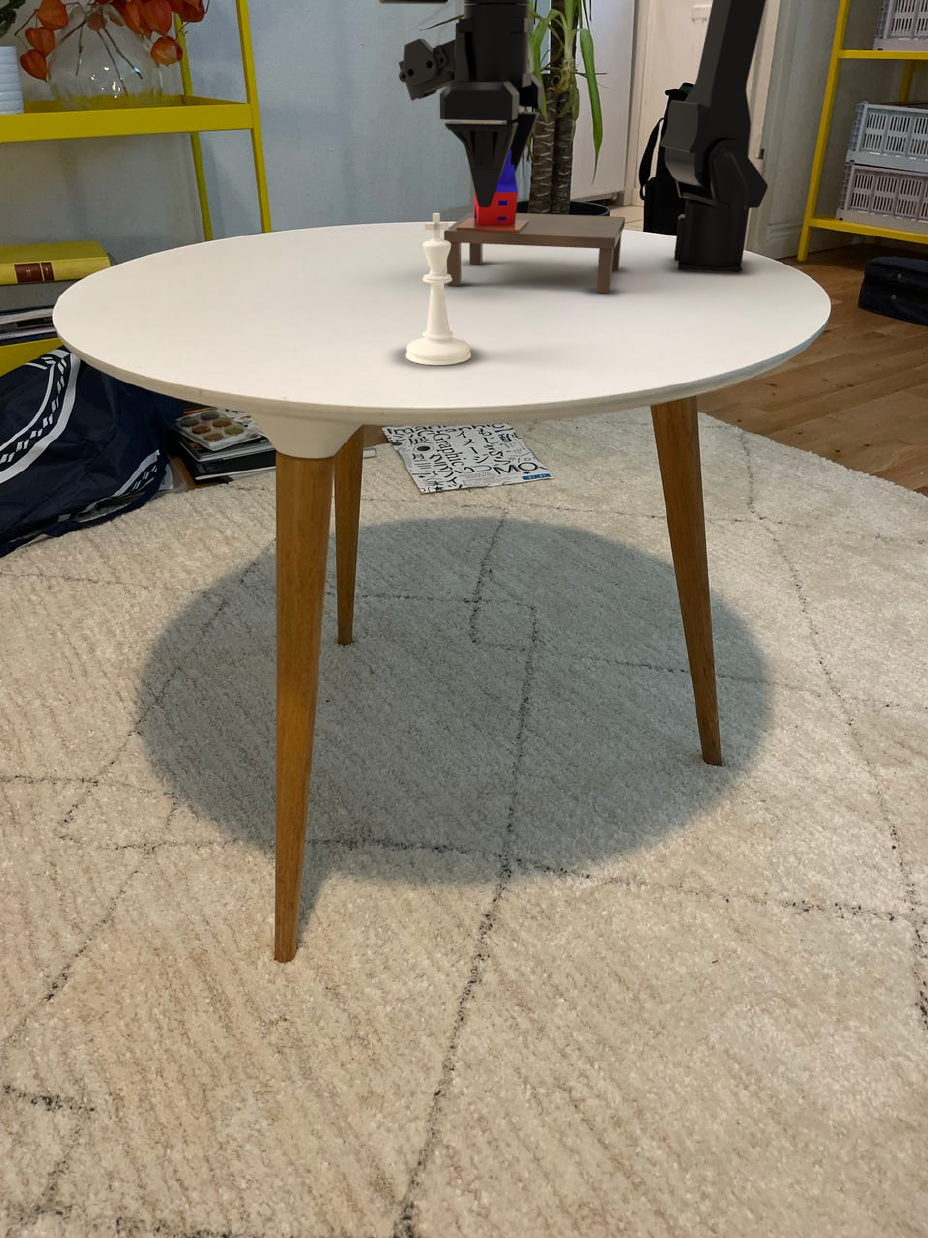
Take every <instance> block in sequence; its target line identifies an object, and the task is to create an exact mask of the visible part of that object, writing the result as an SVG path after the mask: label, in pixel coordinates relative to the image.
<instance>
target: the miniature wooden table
mask: <svg viewBox="0 0 928 1238" xmlns="http://www.w3.org/2000/svg"><path fill="white" fill-rule="evenodd" d="M625 222H626V217H625V216H611V215H610V216H608V215H585V214H584V215H582V214H554V213H553V214H551V213H525V212H521V213H520V212H516V220H515V225H478V223H477V219H474V211H470V212H468V213H466V214H465V215H464V216H462V217H461V218H459V220H457V221H455V222H454V223H453V224H452V225H450V226H449V230H443V240H447V241H449V242H450V243H451V248H450V252H449V254H448V257H447V262H446V274H449V275H451V278H452V281H450V282H448V283H446V286H447V287H460V285H462V244H469V245H468V247H469V248H468V249H469V252H468V253H469V255H468V257H469V260H468V261H469V262H468V263H469V265H474V266H475V265H477V266H480V265H482V264H483V262H484V261H483V259H484V257H483V255H484V253H483V252H484V251H483V250H484V245H500V246H501V245H502V246H503V245H504V246H529V247H550V248H551V247H553V248H573V249H574V248H575V249H576V248H577V249H579V248H580V249H599V250H598V263H597V275H596V278H597V279H596V294H604V295H605V294H608V295H609V294H610V292H611V286H612V285H611V283H612V272H618V271H619V270H620V259H621V246H622V245H621V244H622V234H623V231H624V228H625V224H626V223H625Z"/></svg>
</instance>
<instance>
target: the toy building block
mask: <svg viewBox="0 0 928 1238" xmlns="http://www.w3.org/2000/svg"><path fill="white" fill-rule="evenodd" d="M510 163H511V149H510V150H509V153H508V156H507V159H506V162H505V165H504V168H503V171H502V174H501V177H500V180H499V183H498V186H497V189H496V192H495V195H494V198H493V201H492V204H491V206H490V207H479V206H478V203H477V198H476V194H475V193H474V203H473V212H474V219H477V223H478V225H515V220H516V213H517V207H518V199H519V198H518V196H519V190H518V189H519V188H518V184H517V177H516V174H515V170H514V165H510Z"/></svg>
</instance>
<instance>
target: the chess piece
mask: <svg viewBox="0 0 928 1238" xmlns="http://www.w3.org/2000/svg"><path fill="white" fill-rule="evenodd" d="M440 217H441V214H440V212H433V213H432V222H424V223H423V226H424V231H432V232H433V233H432V234H433V237H432V238H430V239H427V240H425V241H424V242H423V243H422V249H423V252H424V255H425V256H426V262H427V265H428V267H429V270H430V271H428V272H429V273H426V274H424V275H423V276H422V277H423V278H422V282H423V283H427V284H430V291H429V292H430V293H429V305H428V317H427V324H426V330H425V331H423V332H422V336H423V337H419V338H417V339H414V340H412V341H410V342H409V343H408V344H407V345H406V347H405V348H406V353H405V358H406V359H407V360H408V361H410V362H412V363H416V364H421V365H427V366H447V365H448V366H449V365H456V364H460V363H463V362H466V361H467V360H469V359H470V358H471V357H472V353H471V351H470V350H471V346H470V344H469V343H468V342H467V341H465V340H463V339H460V338H457V337H454V334H455V333H454V332H453V331H451V330H450V324H449V320H448V319H449V318H448V311H447V302H446V294H445V284H447V283H448V282H450V281H452V278H451V275H449V274H447V272H446V271H445V268H446V266H447V257H448V254H449V252H450V248H451V243H450V242H449V241H447V240H444V238H443V237H442V238H441V231H445V230H449V227H450V223H449V222H441V218H440Z"/></svg>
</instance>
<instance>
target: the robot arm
mask: <svg viewBox="0 0 928 1238" xmlns="http://www.w3.org/2000/svg"><path fill="white" fill-rule="evenodd" d="M378 1H379V3H380V4H381V5H382V4H383V5H384V4H386V5H387V4H388V5H446V4H447V3H448V2H449V0H378ZM766 2H767V0H712V2H711V3H712V4H711V8H710V13H709V17H708V23H707V28H706V31H705V38H704V41H703V47H702V52H701V56H700V62H699V67H698V71H697V76H696V80H695V82H694V85H693V87H692V88H691V90H690V92H689V93H688V95H687V96H686V98H685V100H684V101H681V100H673V99H672V100H671V101H670V103H669V105H668V109H667V110H668V111H667V124H666V129H665V133H664V135H663V137H662V140H661V141H660V144H659V146H660V147H663V148H665V149H664V165H665V167H666V168H667V170H668V171H669V173H670V175H671V177H672V178H674V179H675V185H676V189H677V194H678V197H679V198H681V199H686V202H685V211H684V214H682V213H681V214H680V215H679V216H678V218H677V228H676V236H675V247H674V257H673V260H674V261H675V262H677V269H678V270H682V271H683V270H684V271H702V272H703V271H704V272H705V271H706V272H725V273H726V272H727V273H742V272H743V270H744V263H743V257H744V250H745V244H746V238H747V237H746V236H747V231H748V222H749V215H750V209H753V208H754V209H755V208H757V209H758V208H759V207H760V206H761V204H762V202H763V199H764V197H765V195H766V193H767V190H768V187H769V185H768V183H767V182H766V180H765V179H764V177H763V176H762V174H761V173H760V172H759V170H758V169H757V167H756V166H755V165H754V163H753V162H752V160H751V159H750V157H749V155H750V144H751V133H752V118H751V111H750V105H749V99H748V98H749V97H748V91H747V90H748V83H749V82H748V81H749V77H750V73H751V68H752V64H753V59H754V56H755V52H756V46H757V43H758V39H759V34H760V29H761V25H762V20H763V16H764V12H765V7H766V4H767V3H766ZM530 4H531V0H463V18H458V22H456V23H455V37H454V39H451V40H450V41H447V42H445V43H441V44H438V45H435V46H434V47H432V45H430V44H429V42H428V41H427V40H426V39H425V38H417V39H415V40H413V41H410V42H408V43H406V44H404V46H403V58H402V59H403V60H401V61H398V65H399V71H400V72H399V73H398V78H399V80H400V82H401V83H405V87H406V89H407V92H408V95H409V98H410V101H411V102H413V101H415V100H417V99H418V100H422V99H424V98H427V97H429V96H432V95H435V94H436V93H437V91H438V90H440V89H442V88H443V90H442V91H441V92H440V93H439V120H444V121H445V120H447V122H444V127H445V128H446V129H447V130H448V131H450V132H452V134H453V135H454V136H455V137H457V139H458V140H459V141H460V142H461V143H462V144H463V146H464V150H465V154H466V158H467V162H468V166H469V171H470V175H471V176H470V177H471V180H472V184H473V189H474V195H475V194H476V198H477V203H478V206H479V207H490V206H491V204H492V201H493V198H494V195H495V192H496V189H497V186H498V183H499V180H500V177H501V174H502V171H503V168H504V165H505V162H506V159H507V156H508V153H509V150H510V149H511V163H510V165H514V170H515V175H516V174H517V171H518V168H519V166H520V163H521V161H522V158H523V156H524V154H525V150H526V149H527V146H528V143H529V140H530V138H531V136H532V133H533V131H534V129H535V126H536V125H537V124H536V123H537V121H538V119H539V117H540V112H538V111H537V112H536V111H526V108H532V109H533V110H540V109H542V108H543V107H544V85H543V84H542V82H541V81H540V80H539V79H538V78H537V76H536V75H535V74H532V72H531V71H529V48H530V47H529V43H530V42H529V41H530V33H534V19H533V18H530V16H531V15H530V11H531V10H530V9H531V5H530Z"/></svg>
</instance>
